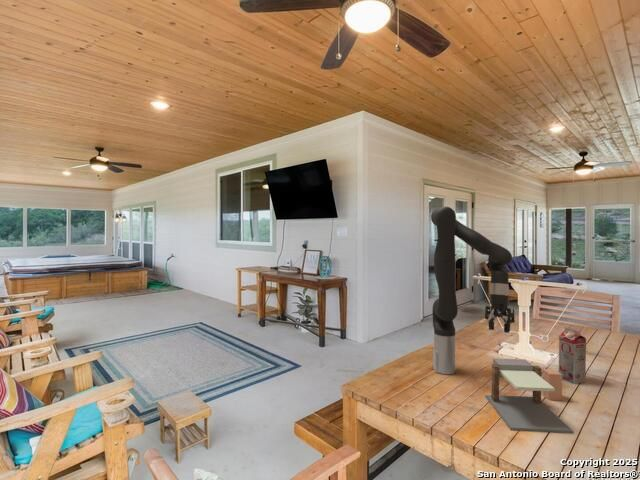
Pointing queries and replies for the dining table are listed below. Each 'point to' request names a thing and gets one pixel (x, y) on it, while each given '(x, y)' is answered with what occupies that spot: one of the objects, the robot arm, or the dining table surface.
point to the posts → (496, 384)
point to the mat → (528, 415)
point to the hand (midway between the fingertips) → (498, 331)
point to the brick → (553, 384)
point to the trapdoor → (521, 375)
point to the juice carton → (572, 356)
